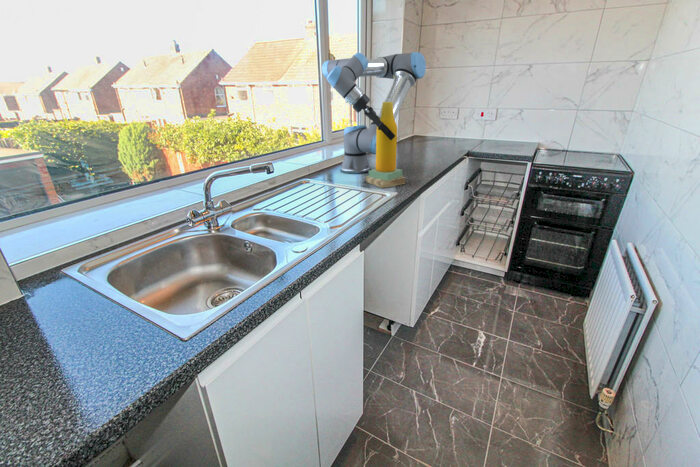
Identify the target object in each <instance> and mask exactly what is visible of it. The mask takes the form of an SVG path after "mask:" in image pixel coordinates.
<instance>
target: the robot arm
mask: <svg viewBox="0 0 700 467" xmlns="http://www.w3.org/2000/svg"><path fill="white" fill-rule="evenodd" d="M426 71H427V64H426V59H425V57H424V55H423V54H422V53H421V52H420V51H412V52H404V53H394V54H389V55H386V56H378V57H376V58H373V59H372V58H371V59H370V58H369V59H368V58H367V57H366V55H364V54H363V53H361V52H356V53H355V54H353V55H352V57H349V58H340V59H339V58H338V59H328V60H325V61H324V62H323V63H322V66H321V72H322V75H323V77H324V78H326V81H327V82H328V84H329V85H330V86H331V88H333V89H334V90H335V91H336V92H337V93H338V94H339V95H340V96H341V97H342V98H343V99H344V100H345V103H346V104H348V105H350V106H352V109H353V110H354V111H355V112H356V113H358V114H359V113H361V111H362V110H363V114H364V115H365V117H367V118H368V119H369V120H371V122H370V124H369V127H367V125H366V124H361V125H351V126H346V127H344V130H343V150H344V151H343V152H344V153H343V154H344V157H343V160H342V163H341V167H340V168H341V172H343V173H345V174H351V175H352V174H353V175H355V174H364V173H369V170H371V167H370V163H369V159H368V156H367V154H373V155H375V156H376V130H377V126H378V130H381V131H382V132H383V133H384V134H385V135H386V136H387V137H388V138H389V139H390V140H392V139H393V138H394V137H395V135H394V134H393V133H392V131H391V130H390V129H389V128H388V127H387V126H386V125H384V123H383V122H382V121H381V120H380V118H381V113H382V107H380V110H379V112H378V114H377V112H376V111H375V110H374V108H373V107H372V106H369V105H368V103H369V102H371V98H370V97H369V96H368V95H366V93H364V91H363V90H362V89H361V88H360V86H359V85H358V84H356V81H357V80H358V79H359V78H365V77H367V78H368V77H376V78H378V79H390V80H393V82H392V84H391V86H390V88H389V91H388V93H387V94H386V97H385V99H384V101H383V102H393V115H394V120H395V121H396V119H397V116H398V115H399V112H400V110H401V108H402V105H403V103H404V102H405V98H406V97H407V95H408V92H409V90H410V88H411V87H414V86H415V84H416V82H417V80H420V79H423V78H424V76H425V75H426Z"/></svg>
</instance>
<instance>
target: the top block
mask: <svg viewBox="0 0 700 467" xmlns="http://www.w3.org/2000/svg"><path fill="white" fill-rule="evenodd" d="M368 175H369V177H372V178H377V179H381V180H386V181H389V180H392V179H395V178H398V177H401V176H402V177H403V169H402V168H401V169H400V168H396V169H395V171H393V172H379V171H377V170H376V168H372V169H370V170H369V171H368Z"/></svg>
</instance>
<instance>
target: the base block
mask: <svg viewBox="0 0 700 467" xmlns="http://www.w3.org/2000/svg"><path fill="white" fill-rule="evenodd" d="M365 182H366V183H368V184H371V185H372V186H376V187H377V188H380V189H386V188H391V187H396V186H402V185H405V184H406V177H405V176H403V175H402V176H401V177H398V178H395V179H392V180H389V181H386V180H381V179H377V178H372V177H369V174H368V175H365Z"/></svg>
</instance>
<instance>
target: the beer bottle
mask: <svg viewBox="0 0 700 467" xmlns="http://www.w3.org/2000/svg"><path fill="white" fill-rule="evenodd" d="M381 108H382V113H381V118H380V120H381V121H382V122H383V123H384V125H386V126H387V127H388V128H389V129H390V130H391V131H392V133H393V134H394V135H395V137H394V138H393V139H392V140H390V139H389V138H388V137H387V136H386V135H385V134H384V133H383V132H382V131H381V130H378V126H377V130H376V155H375V169H376V170H377V171H379V172H393V171H395V169H397V147H398V125H397V121H396V119H395V120H394V115H393V102H384V101H382V105H381Z"/></svg>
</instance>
